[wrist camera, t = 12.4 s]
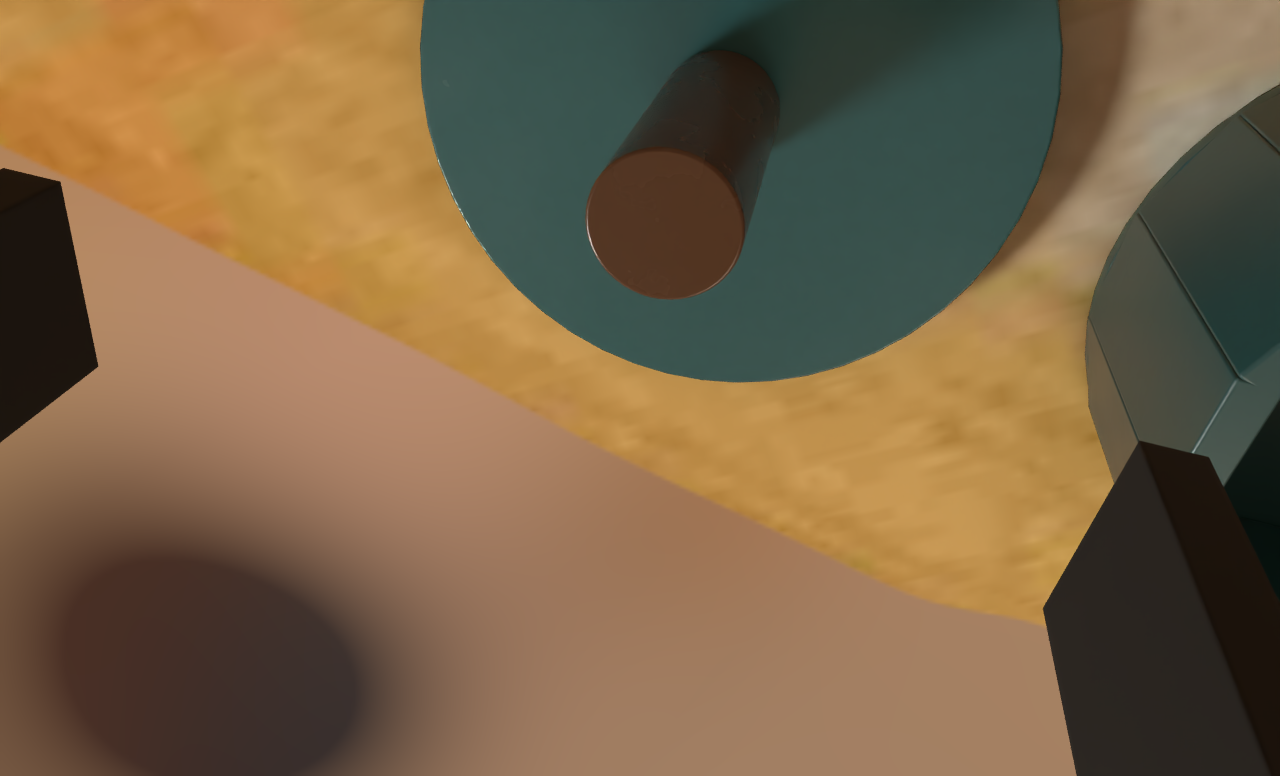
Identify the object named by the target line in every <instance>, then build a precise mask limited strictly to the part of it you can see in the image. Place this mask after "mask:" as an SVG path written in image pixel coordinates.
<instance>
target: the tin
mask: <svg viewBox="0 0 1280 776" xmlns="http://www.w3.org/2000/svg"><path fill="white" fill-rule="evenodd" d="M1085 360H1086V371H1087V382H1088V398H1089V409H1090V413H1091V415H1092V418H1093V421H1094V424H1095V427H1096V430H1097V433H1098V436H1099V439H1100V442H1101V445H1102V448H1103V451H1104V454H1105V457H1106V460H1107V463H1108V466H1109V469H1110V472H1111V475H1112V478H1113V481H1114V484H1115V482H1116V480H1117V478H1118V477H1119V475H1120V473H1121V471H1122V470H1123V468H1124V466H1125V464H1126V463H1127V461H1128V459H1129V458H1130V456H1131V454H1132V452H1133V451H1134V449H1135V447H1136V445H1137V444H1138V442H1139V440H1140V441H1144V442H1148V443H1152V444H1156V445H1160V446H1165V447H1169V448H1173V449H1177V450H1181V451H1185V452H1190V453H1194V454H1198V455H1202V456H1206V457H1209V458H1210V460H1211V462H1212V464H1213V466H1214V469H1215V471H1216V473H1217V475H1218V477H1219V479H1220V481H1221V483H1222V485H1223V487H1224V489H1225V491H1226V493H1227V495H1228V497H1229V499H1230V501H1231V503H1232V506H1233V508H1234V510H1235V512H1236V514H1237V516H1238V518H1239V520H1240V522H1241V524H1242V526H1243V528H1244V530H1245V532H1246V534H1247V536H1248V538H1249V540H1250V543H1251V545H1252V547H1253V549H1254V551H1255V553H1256V555H1257V557H1258V559H1259V561H1260V563H1261V565H1262V567H1263V569H1264V571H1265V573H1266V575H1267V578H1268V580H1269V582H1270V584H1271V586H1272V588H1273V590H1274V592H1275V594H1276V596H1277V598H1278V600H1279V602H1280V85H1279V86H1277V87H1276V88H1274V89H1272V90H1270V91H1269V92H1267V93H1265V94H1263V95H1262V96H1260V97H1258V98H1256V99H1255V100H1253V101H1252V102H1251V103H1249V104H1248V105H1246V106H1245V107H1244V108H1242V109H1241V110H1239V111H1238V112H1236V113H1235V114H1234V115H1232V116H1231V117H1229V118H1228V119H1227V120H1225V121H1224V122H1222V123H1221V124H1220V125H1218V126H1217V127H1215V128H1214V129H1213V130H1212V131H1211V132H1210V133H1209V134H1207V135H1206V136H1205V137H1204V138H1203V139H1202V140H1201V141H1199V142H1198V143H1197V144H1196V145H1195V146H1194V147H1193V148H1191V149H1190V150H1189V151H1188V152H1187V153H1186V154H1184V155H1183V156H1182V157H1181V158H1180V159H1179V160H1178V161H1177V162H1176V163H1175V165H1174V166H1173V167H1172V168H1171V169H1170V170H1169V171H1168V172H1167V173H1166V174H1165V175H1164V176H1163V178H1162V179H1161V180H1160V181H1159V182H1158V183H1157V184H1156V185H1155V186H1154V187H1153V188H1152V189H1151V191H1150V192H1149V193H1148V195H1147V196H1146V197H1145V199H1144V200H1143V202H1142V203H1141V204H1140V206H1139V207H1138V208H1137V210H1136V211H1135V212H1134V214H1133V215H1132V217H1131V218H1130V219H1129V221H1128V222H1127V223H1126V225H1125V227H1124V229H1123V231H1122V232H1121V234H1120V236H1119V238H1118V240H1117V241H1116V243H1115V245H1114V247H1113V249H1112V250H1111V252H1110V254H1109V256H1108V258H1107V260H1106V263H1105V265H1104V268H1103V270H1102V273H1101V276H1100V278H1099V281H1098V283H1097V286H1096V288H1095V291H1094V295H1093V300H1092V304H1091V308H1090V312H1089V316H1088V321H1087V332H1086V346H1085Z"/></svg>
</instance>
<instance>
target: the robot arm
mask: <svg viewBox="0 0 1280 776" xmlns="http://www.w3.org/2000/svg"><path fill="white" fill-rule="evenodd" d="M97 367H98V362H97V358H96V352H95V348H94V343H93V338H92V333H91V328H90V323H89V318H88V314H87V309H86V304H85V299H84V294H83V289H82V284H81V279H80V275H79V270H78V265H77V260H76V255H75V250H74V245H73V241H72V236H71V231H70V226H69V221H68V217H67V211H66V207H65V202H64V197H63V192H62V187H61V182H59V181H55V180H51V179H47V178H43V177H38V176H34V175H30V174H26V173H22V172H18V171H14V170H9V169H5V168H3V169H1V170H0V442H2V441H3V440H4V439H5V438H7V437H8V436H9V435H10V434H12V433H13V432H14V431H15V430H17V429H18V428H20V427H21V426H22V425H23V424H25V423H26V422H27V421H28V420H30V419H31V418H32V417H34V416H35V415H36V414H38V413H39V412H40V411H41V410H43V409H44V408H45V407H46V406H48V405H49V404H50V403H52V402H53V401H54V400H56V399H57V398H58V397H60V396H61V395H62V394H63V393H65V392H66V391H67V390H69V389H70V388H71V387H72V386H74V385H75V384H76V383H78V382H79V381H80V380H82V379H83V378H84V377H85V376H87V375H88V374H89V373H91V372H92V371H93V370H94V369H96V368H97ZM1043 611H1044V616H1045V621H1046V626H1047V630H1048V636H1049V641H1050V646H1051V651H1052V656H1053V661H1054V665H1055V670H1056V675H1057V680H1058V685H1059V690H1060V695H1061V700H1062V705H1063V710H1064V715H1065V720H1066V725H1067V730H1068V735H1069V739H1070V745H1071V750H1072V755H1073V759H1074V765H1075V769H1076V774H1077V776H1280V602H1279V600H1278V598H1277V596H1276V594H1275V592H1274V590H1273V588H1272V586H1271V584H1270V582H1269V580H1268V578H1267V575H1266V573H1265V571H1264V569H1263V567H1262V565H1261V563H1260V561H1259V559H1258V557H1257V555H1256V553H1255V551H1254V549H1253V547H1252V545H1251V543H1250V540H1249V538H1248V536H1247V534H1246V532H1245V530H1244V528H1243V526H1242V524H1241V522H1240V520H1239V518H1238V516H1237V514H1236V512H1235V510H1234V508H1233V506H1232V503H1231V501H1230V499H1229V497H1228V495H1227V493H1226V491H1225V489H1224V487H1223V485H1222V483H1221V481H1220V479H1219V477H1218V475H1217V473H1216V471H1215V469H1214V466H1213V464H1212V462H1211V460H1210V458H1209V457H1206V456H1202V455H1198V454H1194V453H1190V452H1185V451H1181V450H1177V449H1173V448H1169V447H1165V446H1160V445H1156V444H1152V443H1148V442H1144V441H1140V440H1139V442H1138V444H1137V445H1136V447H1135V449H1134V451H1133V452H1132V454H1131V456H1130V458H1129V459H1128V461H1127V463H1126V464H1125V466H1124V468H1123V470H1122V471H1121V473H1120V475H1119V477H1118V478H1117V480H1116V482H1115V484H1114V485H1113V487H1112V489H1111V491H1110V492H1109V494H1108V496H1107V498H1106V499H1105V501H1104V503H1103V505H1102V506H1101V508H1100V510H1099V512H1098V513H1097V515H1096V517H1095V518H1094V520H1093V522H1092V524H1091V525H1090V527H1089V529H1088V531H1087V532H1086V534H1085V536H1084V538H1083V539H1082V541H1081V543H1080V545H1079V546H1078V548H1077V550H1076V552H1075V553H1074V555H1073V557H1072V559H1071V560H1070V562H1069V564H1068V565H1067V567H1066V569H1065V571H1064V572H1063V574H1062V576H1061V578H1060V579H1059V581H1058V583H1057V585H1056V586H1055V588H1054V590H1053V592H1052V593H1051V595H1050V597H1049V599H1048V600H1047V602H1046V604H1045V606H1044V607H1043Z"/></svg>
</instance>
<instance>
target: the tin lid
mask: <svg viewBox="0 0 1280 776" xmlns="http://www.w3.org/2000/svg"><path fill="white" fill-rule="evenodd" d="M420 55H421V81H422V92H423V98H424V104H425V110H426V117H427V123H428V128H429V131H430V135H431V138H432V142H433V145H434V149H435V152H436V156H437V160H438V163H439V166H440V168H441V170H442V173H443V175H444V178H445V180H446V183H447V185H448V187H449V190H450V192H451V195H452V197H453V199H454V201H455V203H456V205H457V206H458V208H459V210H460V212H461V214H462V216H463V217H464V219H465V221H466V223H467V225H468V226H469V228H470V230H471V232H472V233H473V234H474V236H475V237H476V239H477V240H478V242H479V243H480V244H481V246H482V247H483V249H484V250H485V251H486V253H487V254H488V256H489V257H490V258H491V260H492V261H493V262H494V263H495V265H496V266H497V267H498V268H499V269H500V270H501V271H502V272H503V274H504V275H505V276H506V277H507V278H508V279H509V280H510V281H511V283H512V284H513V285H514V286H515V287H516V288H517V289H518V290H519V291H520V292H521V293H522V294H524V295H525V296H526V297H527V298H528V299H529V300H530V301H531V302H532V303H534V304H535V305H536V306H537V307H538V308H539V309H540V310H541V311H542V312H544V313H545V314H547V315H548V316H549V317H551V318H552V319H553V320H555V321H556V322H558V323H559V324H560V325H562V326H563V327H565V328H566V329H567V330H569V331H570V332H572V333H573V334H575V335H577V336H579V337H580V338H582V339H584V340H586V341H588V342H589V343H591V344H593V345H595V346H596V347H598V348H600V349H602V350H604V351H606V352H609V353H611V354H613V355H616V356H618V357H620V358H623V359H625V360H627V361H630V362H632V363H634V364H638V365H641V366H644V367H648V368H651V369H654V370H658V371H661V372H664V373H667V374H673V375H678V376H684V377H689V378H694V379H700V380H710V381H724V382H761V381H776V380H782V379H789V378H795V377H802V376H808V375H812V374H815V373H819V372H823V371H826V370H830V369H834V368H837V367H841V366H844V365H846V364H849V363H851V362H854V361H856V360H859V359H861V358H864V357H866V356H869V355H871V354H874V353H876V352H878V351H880V350H882V349H884V348H885V347H887V346H889V345H891V344H893V343H895V342H896V341H898V340H900V339H902V338H904V337H906V336H907V335H909V334H911V333H912V332H914V331H915V330H916V329H918V328H919V327H921V326H922V325H923V324H925V323H926V322H928V321H929V320H930V319H932V318H933V317H935V316H936V315H937V314H939V313H940V312H942V311H943V310H944V309H945V308H946V307H947V306H948V305H949V304H950V303H951V302H952V301H954V300H955V299H956V298H957V297H958V296H959V295H960V294H961V293H962V292H963V291H964V290H966V289H967V288H968V287H969V286H970V285H971V284H972V283H973V281H974V280H975V279H976V278H977V277H978V276H979V274H980V273H981V272H982V271H983V270H984V269H985V267H986V266H987V265H988V264H989V263H990V262H991V260H992V259H993V258H994V257H995V256H996V254H997V253H998V252H999V250H1000V249H1001V247H1002V245H1003V244H1004V242H1005V241H1006V239H1007V238H1008V236H1009V235H1010V233H1011V232H1012V230H1013V229H1014V227H1015V226H1016V224H1017V223H1018V221H1019V220H1020V218H1021V216H1022V213H1023V211H1024V209H1025V207H1026V205H1027V203H1028V201H1029V199H1030V197H1031V195H1032V193H1033V191H1034V189H1035V187H1036V185H1037V183H1038V180H1039V177H1040V174H1041V171H1042V168H1043V165H1044V162H1045V159H1046V156H1047V153H1048V150H1049V147H1050V144H1051V141H1052V138H1053V132H1054V127H1055V122H1056V116H1057V111H1058V106H1059V101H1060V95H1061V77H1062V57H1063V44H1062V32H1061V21H1060V10H1059V0H424V6H423V18H422V30H421V42H420Z"/></svg>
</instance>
